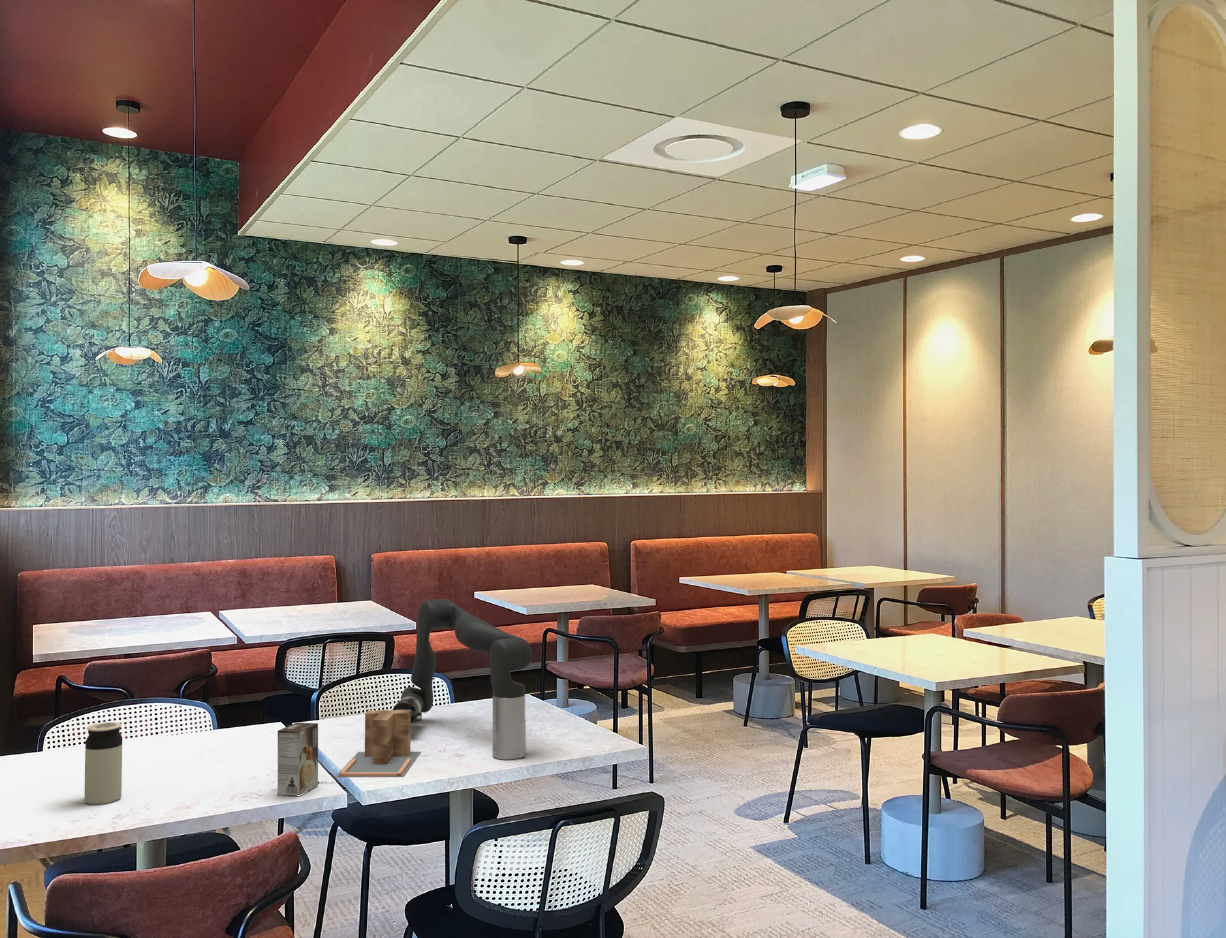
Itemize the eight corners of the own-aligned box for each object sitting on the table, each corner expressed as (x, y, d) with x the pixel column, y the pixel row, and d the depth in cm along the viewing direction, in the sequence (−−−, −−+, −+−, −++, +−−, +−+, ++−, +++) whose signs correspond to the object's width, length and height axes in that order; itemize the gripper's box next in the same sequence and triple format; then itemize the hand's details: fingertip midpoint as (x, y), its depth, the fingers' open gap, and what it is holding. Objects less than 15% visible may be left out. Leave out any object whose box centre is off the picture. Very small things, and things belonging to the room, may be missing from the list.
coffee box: (295, 784, 246) (296, 721, 247) (318, 786, 245) (319, 722, 246) (276, 795, 237) (277, 730, 238) (299, 797, 236) (300, 731, 237)
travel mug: (127, 794, 238) (128, 721, 238) (111, 805, 230) (112, 729, 230) (94, 795, 237) (95, 721, 238) (77, 805, 230) (79, 729, 230)
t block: (410, 752, 274) (410, 710, 274) (401, 764, 262) (402, 719, 262) (368, 752, 274) (368, 710, 274) (357, 764, 262) (358, 720, 262)
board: (421, 755, 275) (421, 748, 275) (404, 780, 250) (404, 773, 250) (358, 755, 274) (358, 748, 274) (334, 781, 249) (334, 774, 250)
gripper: (385, 698, 299) (372, 710, 281) (428, 698, 299) (417, 710, 282) (385, 722, 298) (372, 736, 281) (428, 722, 299) (417, 736, 281)
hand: (395, 723), depth 281 cm, fingers closed
